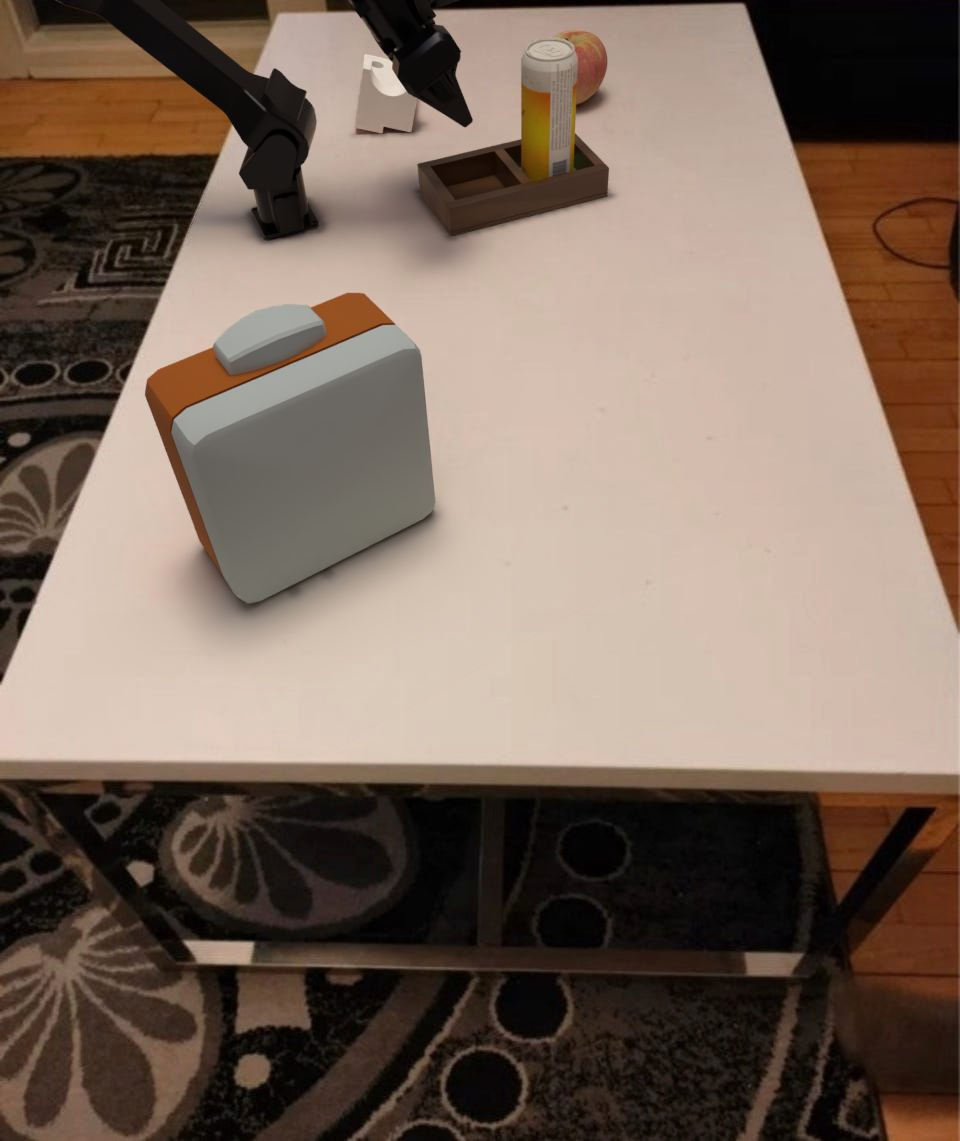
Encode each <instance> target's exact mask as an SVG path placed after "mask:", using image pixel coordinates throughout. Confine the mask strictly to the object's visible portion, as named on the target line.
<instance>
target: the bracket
mask: <svg viewBox="0 0 960 1141" xmlns="http://www.w3.org/2000/svg"><path fill="white" fill-rule="evenodd" d="M392 64H393V62H392V61H390V60H389V58H385V57H381V56H376V55H374V54H373V55H372V54H368V53H364V56H363V63H362V70H361V77H360V83H359V93H358V99H357V107H356V114H355V115H356V116H355V123H354V128H355V129H360V130H365V131H369V132H373V133H378V134H383V133H384V127H385V128H388V129H394V130H398V131H403V132H407V133H412V130H413V125H414V119H415V114H416V110H417V104H418V100H419V99H418V98H416V97H413V96H412V95H411V94H408V92H407V91H406V90H405V88H404V87H403V85H402V84H401V82H400V81H399V80H398V78H397V76H396V75H395V73H394V71H393V70H392Z"/></svg>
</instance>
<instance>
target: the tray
mask: <svg viewBox="0 0 960 1141" xmlns="http://www.w3.org/2000/svg"><path fill="white" fill-rule="evenodd" d="M416 167H417V178H418V191H419V193H420V194H421V196H422V197H423V199H424V200H425V201H426V204H428V205H429V207H430V209H431V210H432V212H434V214H435V216H436V217H437V218H438V219H439V221H440V223H441V224H442V226H444V228H445V229H446V231H447V232H448V234H449V235H450V236H456V235H461V234H466V233H468V232H472V231H476V230H479V229H484V228H488V227H492V226H496V225H499V224H503V223H507V222H511V221H515V220H519V219H523V218H526V217H531V216H534V215H535V216H536V215H539V214H542V213H546V212H550V211H555V210H557V209H558V210H559V209H561V208H566V207H569V206H570V207H571V206H574V205H578V204H581V203H585V202H589V201H593V200H597V199H600V198H601V199H602V198H605V197H608V191H609V190H608V189H609V175H610V167H609V166H608V165H607V164H606V163H605V162H604V161H603V160H602V159H601V158H600V157H599V155H597V154H596V152H594V151H593V150H592V149H591V148H590V146H589V145H588V144H587V143H586V142H585V141H584V140H583V139H582V138H581V137H580V136H578V134H577V133H576V132H575V142H574V166H573V171H572V172H568V173H564V174H560V175H556V176H552V177H548V178H544V179H540V180H536V181H532V182H531V180H530V179H529V178H528V177H527V176H526V174H525V173H524V172H523V171H522V170H521V138H520V139H516V140H512V141H507V142H503V143H499V144H494V145H491V146H486V147H482V148H477V149H474V150H470V151H469V150H468V151H465V152H461V153H457V154H452V155H448V156H444V157H439V158H436V159H432V160H428V161H424V162H419V163H417V164H416Z"/></svg>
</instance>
